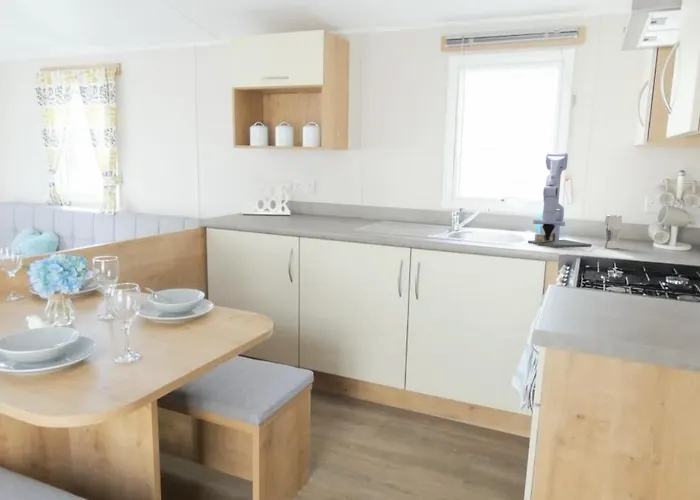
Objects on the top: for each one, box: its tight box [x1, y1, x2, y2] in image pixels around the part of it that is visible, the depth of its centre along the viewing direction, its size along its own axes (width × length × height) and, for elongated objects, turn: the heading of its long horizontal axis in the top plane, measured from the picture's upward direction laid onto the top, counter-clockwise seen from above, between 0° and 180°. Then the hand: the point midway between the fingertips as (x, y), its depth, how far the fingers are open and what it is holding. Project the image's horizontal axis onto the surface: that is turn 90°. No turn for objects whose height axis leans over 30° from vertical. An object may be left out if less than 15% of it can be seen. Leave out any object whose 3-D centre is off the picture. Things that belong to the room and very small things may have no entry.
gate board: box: [527, 233, 592, 249], centre depth 263 cm, size 18×22×5 cm
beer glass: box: [603, 214, 623, 250], centre depth 253 cm, size 7×7×15 cm
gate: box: [537, 233, 555, 243], centre depth 265 cm, size 16×2×4 cm, turn 135°
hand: (547, 240), depth 262 cm, fingers closed
